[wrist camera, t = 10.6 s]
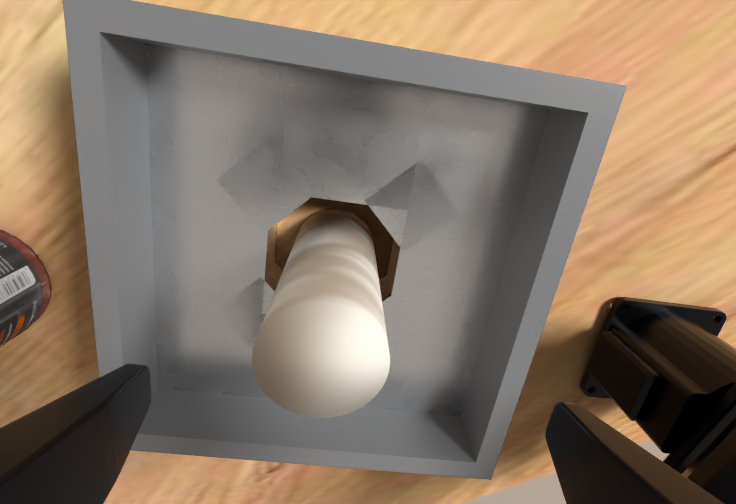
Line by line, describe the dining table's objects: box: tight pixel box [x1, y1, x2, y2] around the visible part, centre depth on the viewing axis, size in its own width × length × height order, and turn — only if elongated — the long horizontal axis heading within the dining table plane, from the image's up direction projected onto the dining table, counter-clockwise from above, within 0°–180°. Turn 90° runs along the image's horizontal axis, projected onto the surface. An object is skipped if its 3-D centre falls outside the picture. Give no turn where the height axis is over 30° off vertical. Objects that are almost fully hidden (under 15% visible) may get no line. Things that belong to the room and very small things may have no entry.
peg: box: [252, 209, 390, 418], centre depth 17 cm, size 4×4×10 cm
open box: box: [63, 0, 627, 480], centre depth 19 cm, size 18×18×6 cm
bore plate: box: [145, 43, 549, 417], centre depth 20 cm, size 16×16×2 cm
